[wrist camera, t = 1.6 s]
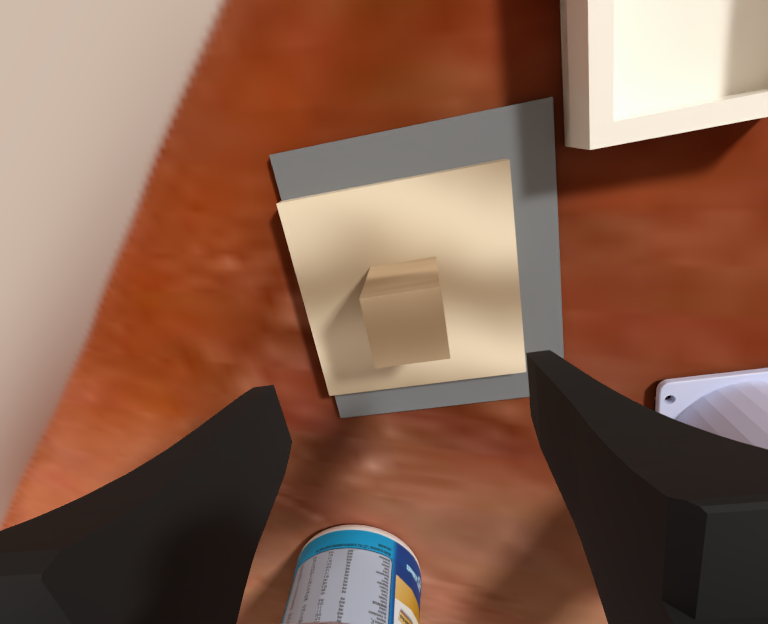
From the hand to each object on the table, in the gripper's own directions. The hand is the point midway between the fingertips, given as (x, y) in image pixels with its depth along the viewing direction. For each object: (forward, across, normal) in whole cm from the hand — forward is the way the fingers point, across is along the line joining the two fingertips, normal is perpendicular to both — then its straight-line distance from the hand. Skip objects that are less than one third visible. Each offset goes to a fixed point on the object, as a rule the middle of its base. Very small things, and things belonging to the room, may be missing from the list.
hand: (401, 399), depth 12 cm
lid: (+10, 0, 0) cm, 10 cm away
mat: (+10, -1, 0) cm, 10 cm away
